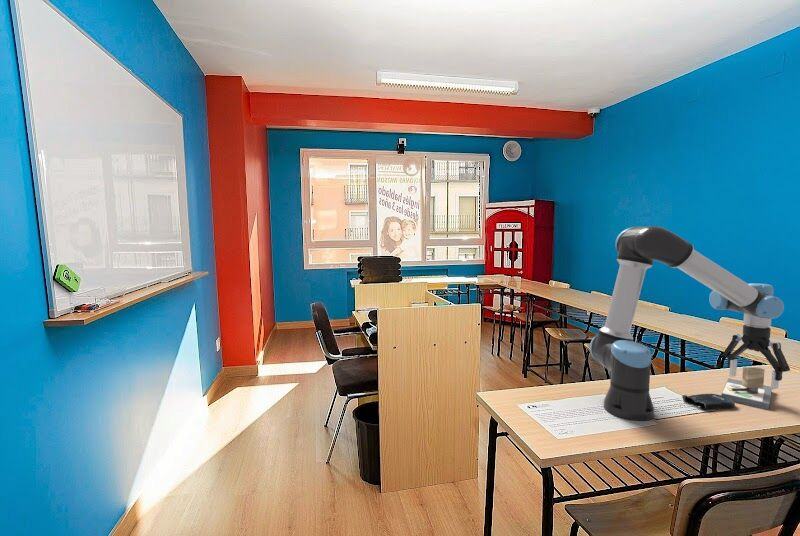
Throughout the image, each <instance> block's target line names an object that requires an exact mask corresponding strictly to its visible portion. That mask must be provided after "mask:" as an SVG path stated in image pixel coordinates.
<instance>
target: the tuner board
mask: <svg viewBox="0 0 800 536" xmlns="http://www.w3.org/2000/svg"><path fill="white" fill-rule="evenodd" d="M732 388H746V387H744V386H742V380H739V379H734V378H729V377H728V378H727V381H726V382H725V385H724V387H723V389H722V392H721V393H720V395H722V396H725V397H728V398H730V399H732V400H733V401H734V403H738V404H743V405H746V406H752V407H756V408H760V409H765V410H770V405H771V397H772V390H773V389H771V385H764V384H763V388H758V393H757V394H754V393H749V392H747V391H733V390H732Z"/></svg>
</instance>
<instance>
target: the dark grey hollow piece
mask: <svg viewBox="0 0 800 536" xmlns="http://www.w3.org/2000/svg"><path fill="white" fill-rule="evenodd" d="M681 397H682V401H683V402H684V403H687V402H688V403H687V404H689V403H690V402H691V403H699V404H703V406H704V408H703V409H704V410H715V409H716V410H718V409H732V408H735V405H736V404H735V403H736V402H734V401H733V400H732V399H730V398H728V397H725V396H722V395H721V394H718V393H717V394H716V393H702V394H701V393H700V394H694V395H693V394H692V395H689V396H688V395H687V394H683V395H682V396H681ZM691 403H690V404H691Z"/></svg>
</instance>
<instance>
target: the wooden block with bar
mask: <svg viewBox="0 0 800 536" xmlns="http://www.w3.org/2000/svg"><path fill="white" fill-rule="evenodd" d="M765 371H766V370H765V369H764V368H762V367H754V366H753V367H745V366H744V367H742V379H741V381H742V386H744V387H746V388H732V390H733V391H747V392H749V393H754V394H757V393H758V388H763V385H764V381H765Z"/></svg>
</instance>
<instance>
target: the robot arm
mask: <svg viewBox="0 0 800 536" xmlns="http://www.w3.org/2000/svg"><path fill="white" fill-rule="evenodd" d="M615 250H616V251H617V257H616V261H617V263H618V264H619V268H618V270H617V271H618V272H617V275H616V280H615V283H614V288H613V291H612V296H611V300H610V304H609V308H608V311H607V315H606V320H605V322H604V323H605V324H604V326H601V328H599V329H598V331H597V332H598V333H597V334H596V336H593V337H592V338H591V341H590V343H589V352H590V355H591V357H592V358H593V359H594V361H595V362H596V363H598V364H599V365H600V366H602V367H604V368H605V369H607V370H608V371H609V372H610V385H609V388H608V390H607V392H606V394H605V397H604V400H603V408H604V409H605V410H606V411H607V412H609V414H611V415H614V416H617V417H618V418H619V417H620V418H623V419H627V420H631V421H649V420H653V418H654V417H655V408H654V404H653V401H652V398H651V395H650V379H651V365H652V355H651V350H650V349H649V347H648V346H646V345H644V344H643V343H640V342H636V341H634V337H633V335H632V334H631V330H632V326H633V322H634V318H635V315H636V310H637V306H638V302H639V299H640V295H641V292H642V291H641V290H642V287H643V283H644V279H645V277H646V271H647V270H648V269H651V268H652V267H653V265H654V264H653V263H654V261H655V262H659V263H661V264H664V265H666V266H668V267H670V268H672V269H676V268H677V269H679V270H680V271H682V272H684V273H685V274H686V275H688V276H689V277H691V278H693V279H695V280H696V281H697V282H699V283H701V284H703V285H704V286H705V287H707V288H709V289H710V290H712V291H711V292H710V293H709V299H708V300H709V304H710V306H711V307H712V308H713V309H714V310H721V311H725V310H728V311H733V312H737V313H742V314H743V325H742V335H740V334H739V333H738V334H733V335H732V338H731V341H730V343H729V344H728V345H727V347H726V348H725V350H723V353H722V356H723V357H726V358H727V367H728V368H729V375H728V376H729V377H730V378H732V377H733V378H735V377H737V366H738V359H736V358H737V357H738V356H740V355H741V354H742V353H744V352H745V351H747V350H749V351H755V352H758V353H759V352H760V353H761V354H762V355H763V356H764V357H765V359H766V360H767V361H768V363H769V364H770V366H771V367H772V368H773V370H772V371H771V382H770V387H771V389H772V390H777V389H779V383H780V381H782V379H783V373H785V372H790V371H791V368H790V366H789V364H788V361H787V359H786V358H785V355H784V352H783V351H782V344H781V343H780V342H771V340H770V338H771V328H770V327H771V326H772V319H777V318H779V317H780V316H781V315H782V314H783V312H784V310H785V304H784V302H783V300H781V299H780V298H779V297H777V296H774V287H773V285H771V284H767V283H755V282H754V283H752V282H751V283H747V282H746V281H744V280H743V279H741V278H740V277H738V276H736V275H734V274H733V273H732V272H730V271H729V270H727V269H725V268H723V267H722V266H721V265H719V264H717V263H715V262H714V261H713V260H711V259H710V258H708V257H706V256H704V255H703V254H701V253H700V252H699V251H697V250H695V249H694V245H693V244H692V243H690V242H689V241H687V240H686V239H684V238H682V237H681V236H679V235H678V234H676V233H674V232H672V231H670V230H669V229H666V228H664V227H661V226H656V225H654V226H652V225H651V226H632V227H628V228H626V229H624V230H623V231H621V232H620V233H619V234H618V235H617V237H616V239H615ZM740 341H742V342H743V344H741V345H740V346H739V347H738V348H736V347H737V346H738V344H739V342H740ZM769 347H770V348H771V349H772V351H771V350H770V348H769ZM735 348H736V349H735ZM734 349H735V350H734ZM772 352H773V353H772ZM773 354H774V355H773Z"/></svg>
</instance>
